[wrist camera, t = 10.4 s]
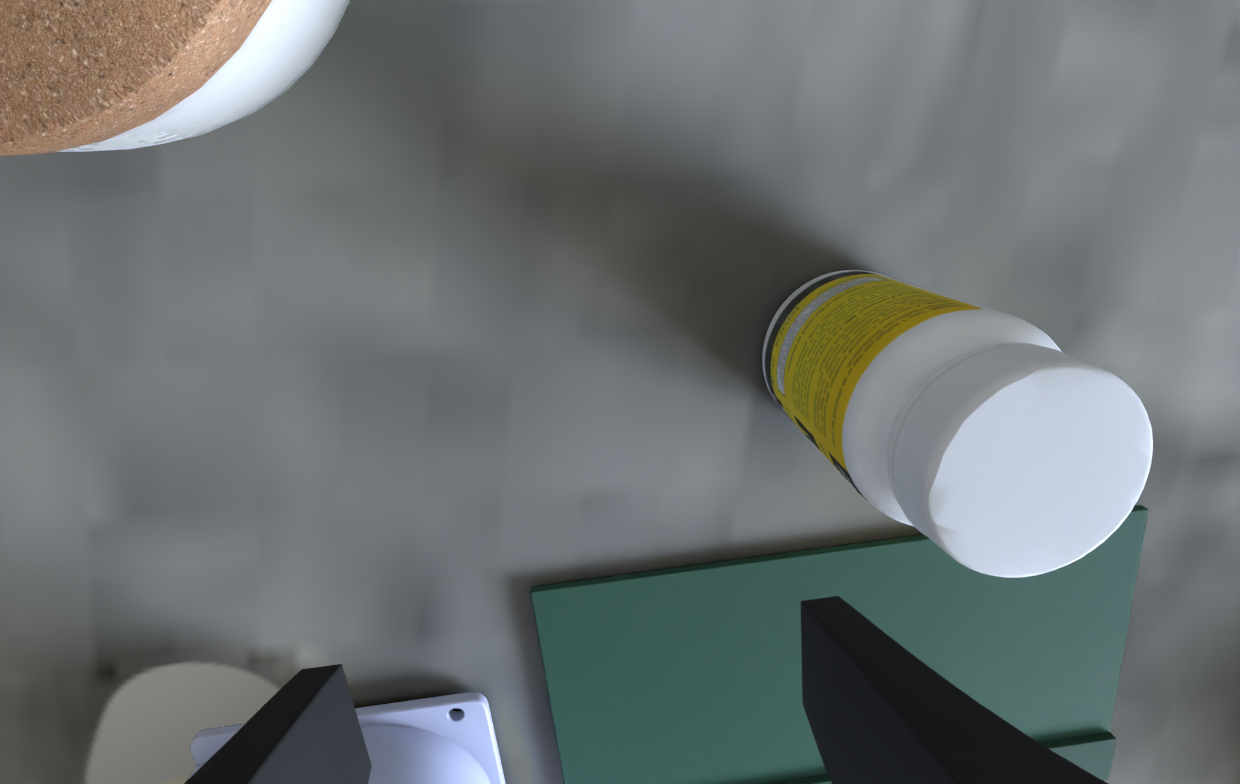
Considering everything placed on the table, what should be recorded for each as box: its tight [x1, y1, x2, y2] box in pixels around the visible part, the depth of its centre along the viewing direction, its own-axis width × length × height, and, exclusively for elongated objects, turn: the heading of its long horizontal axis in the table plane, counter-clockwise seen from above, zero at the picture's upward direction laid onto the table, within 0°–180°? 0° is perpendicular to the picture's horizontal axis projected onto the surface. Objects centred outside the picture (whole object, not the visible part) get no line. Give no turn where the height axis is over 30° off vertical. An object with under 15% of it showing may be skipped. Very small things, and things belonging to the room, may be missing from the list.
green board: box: [531, 505, 1148, 784], centre depth 22 cm, size 20×12×1 cm, turn 96°
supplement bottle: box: [762, 270, 1153, 578], centre depth 15 cm, size 5×5×8 cm
